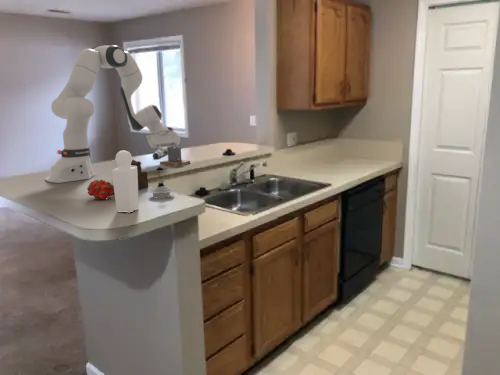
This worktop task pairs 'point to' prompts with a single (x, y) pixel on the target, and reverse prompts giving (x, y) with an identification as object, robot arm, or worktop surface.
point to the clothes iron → (140, 175)
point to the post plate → (175, 162)
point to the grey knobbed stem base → (161, 188)
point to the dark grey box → (174, 154)
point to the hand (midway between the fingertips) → (171, 151)
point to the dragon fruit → (100, 189)
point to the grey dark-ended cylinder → (160, 152)
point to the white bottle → (125, 182)
